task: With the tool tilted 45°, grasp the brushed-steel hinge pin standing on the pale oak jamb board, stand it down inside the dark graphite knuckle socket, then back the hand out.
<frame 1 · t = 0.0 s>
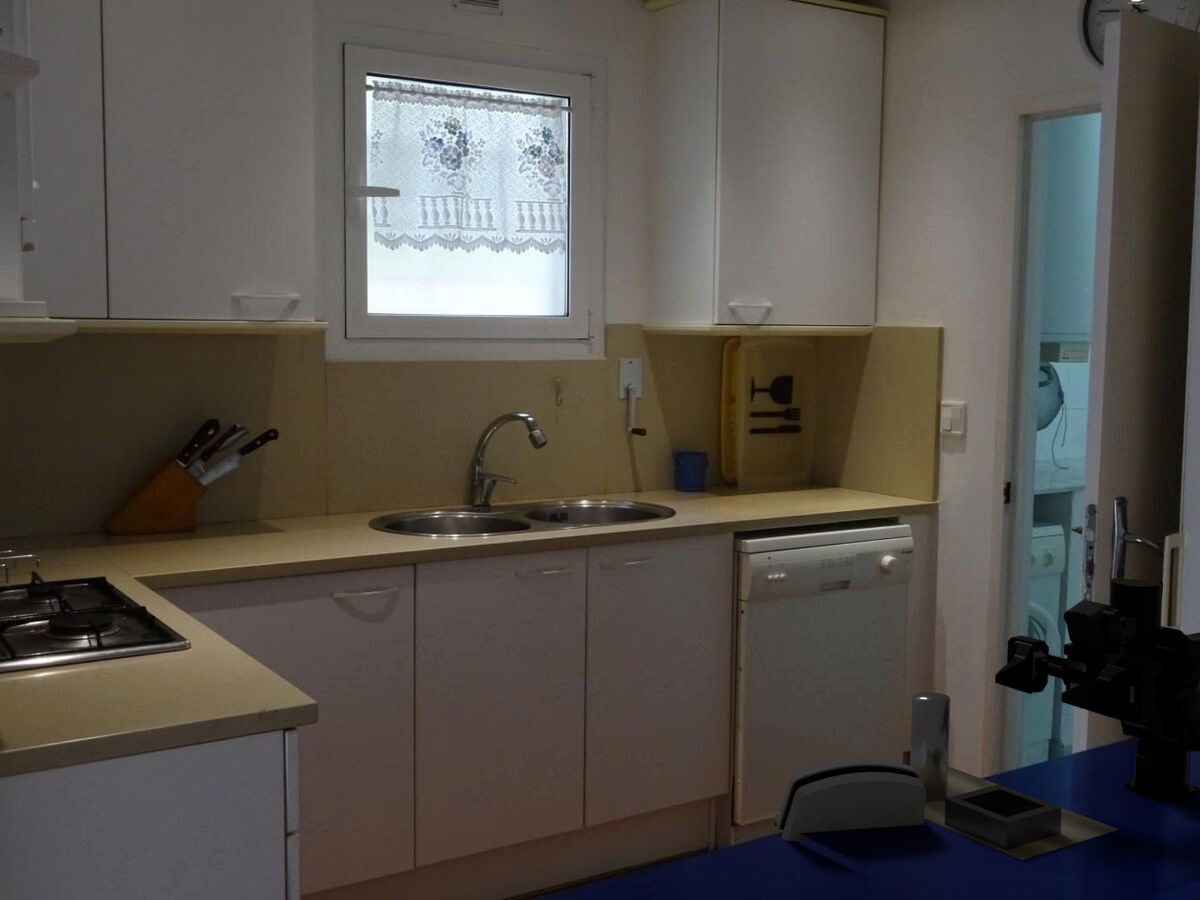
hand: (1028, 687, 150), 17 cm above the table, tool horizontal, fingers open, 9 cm apart
grey arched block: (851, 837, 151), on the table, touching jamb board
knuckle socket: (1002, 828, 150), resting on jamb board
jamb board: (978, 815, 157), on the table
hinge pin: (928, 795, 160), point 1 cm above the table, touching jamb board
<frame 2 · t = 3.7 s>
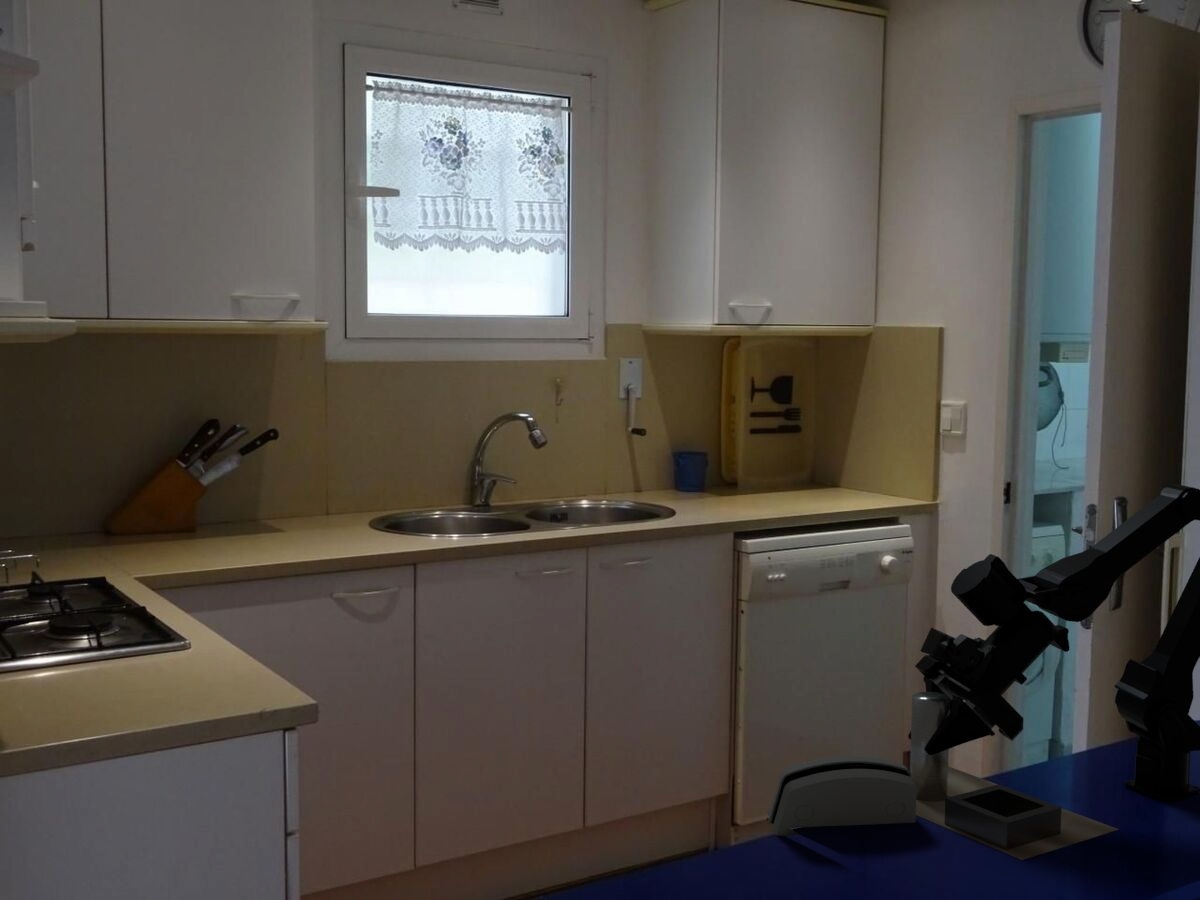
hand: (918, 746, 160), 7 cm above the table, tool tilted 45°, fingers closed on hinge pin, 4 cm apart
grey arched block: (842, 833, 153), on the table, touching jamb board
hinge pin: (928, 795, 160), point 1 cm above the table, touching gripper, jamb board
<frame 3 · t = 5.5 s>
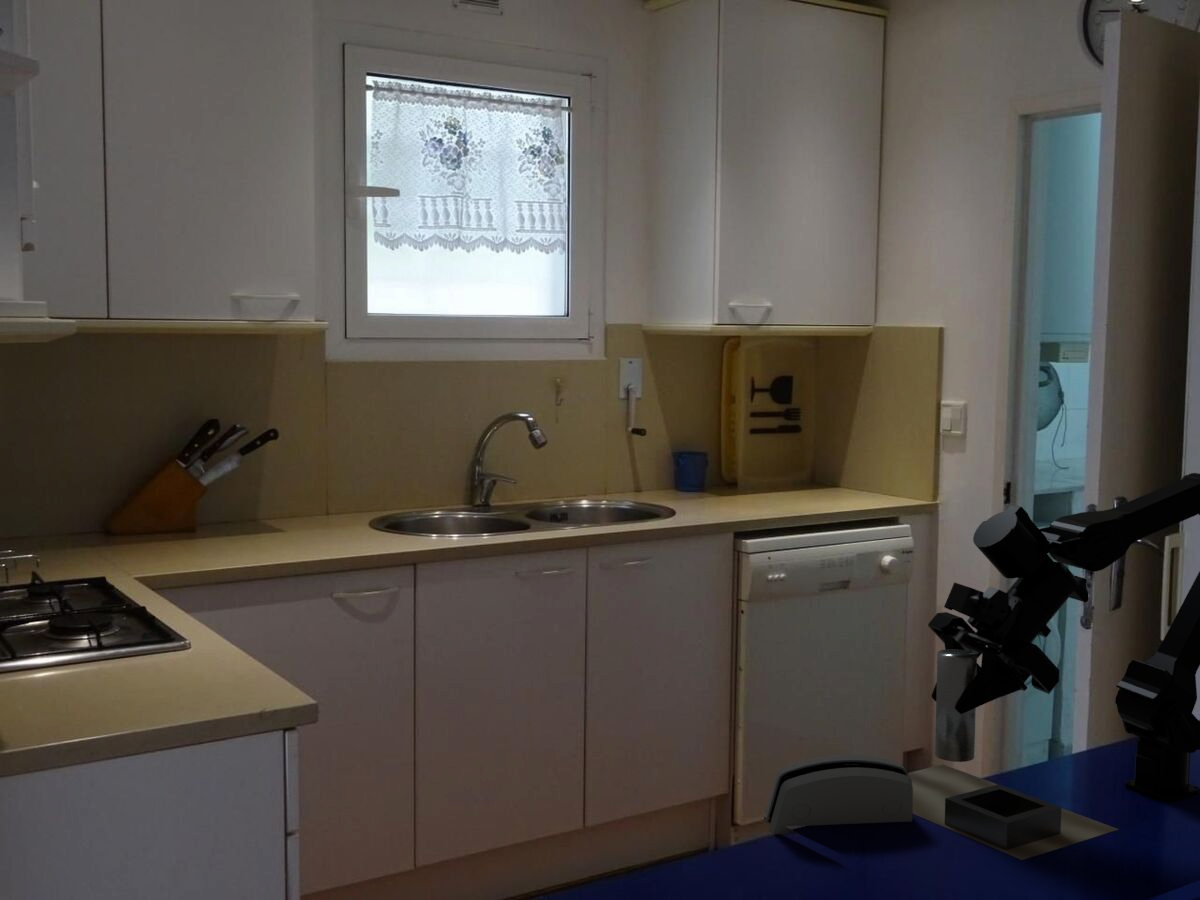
hand: (945, 705, 154), 13 cm above the table, tool tilted 45°, fingers closed on hinge pin, 4 cm apart
hinge pin: (954, 755, 155), point 7 cm above the table, touching gripper
when the fingers open (8 cm above the table, at t = 7.6 s): hinge pin drops 1 cm, resting on jamb board.
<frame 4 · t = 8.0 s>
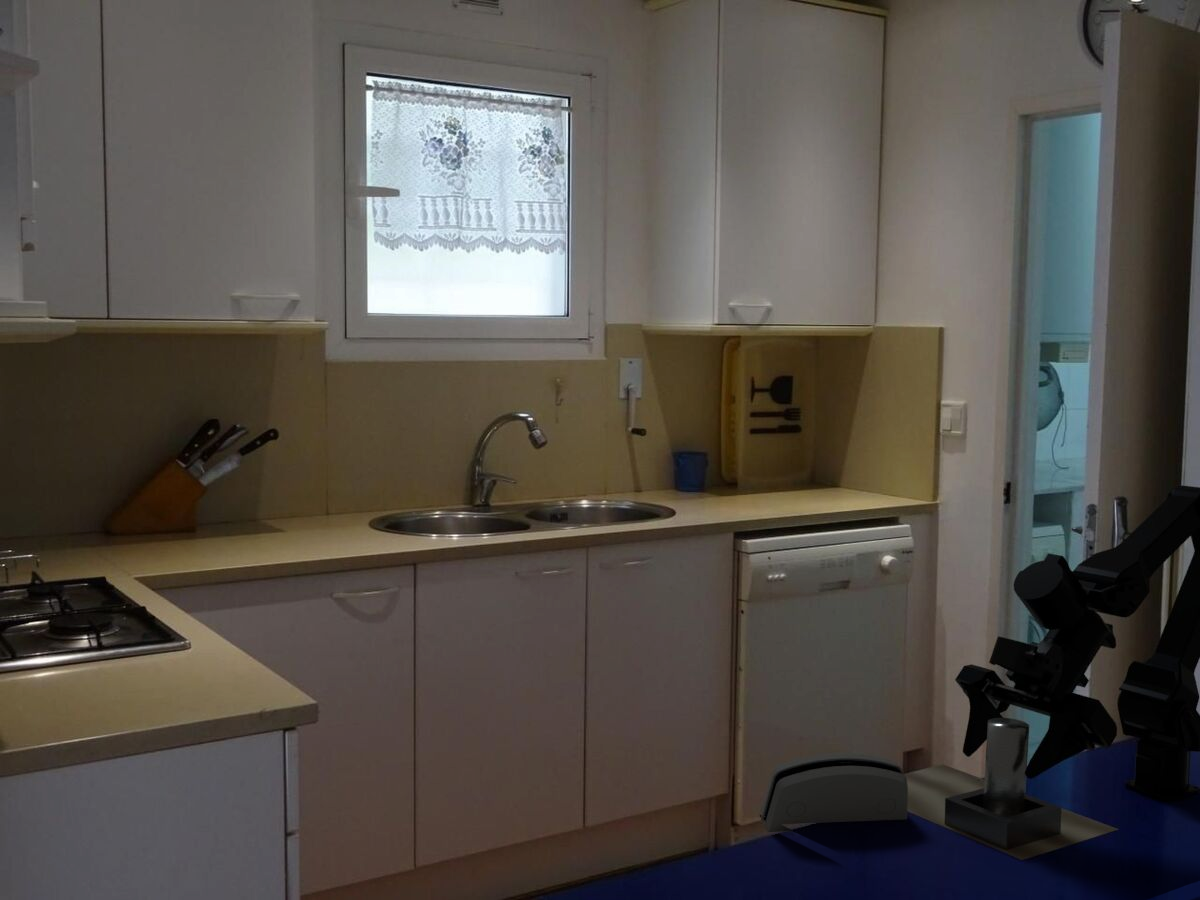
hand: (995, 765, 148), 9 cm above the table, tool tilted 45°, fingers open, 8 cm apart
hinge pin: (1002, 828, 150), point 1 cm above the table, touching jamb board
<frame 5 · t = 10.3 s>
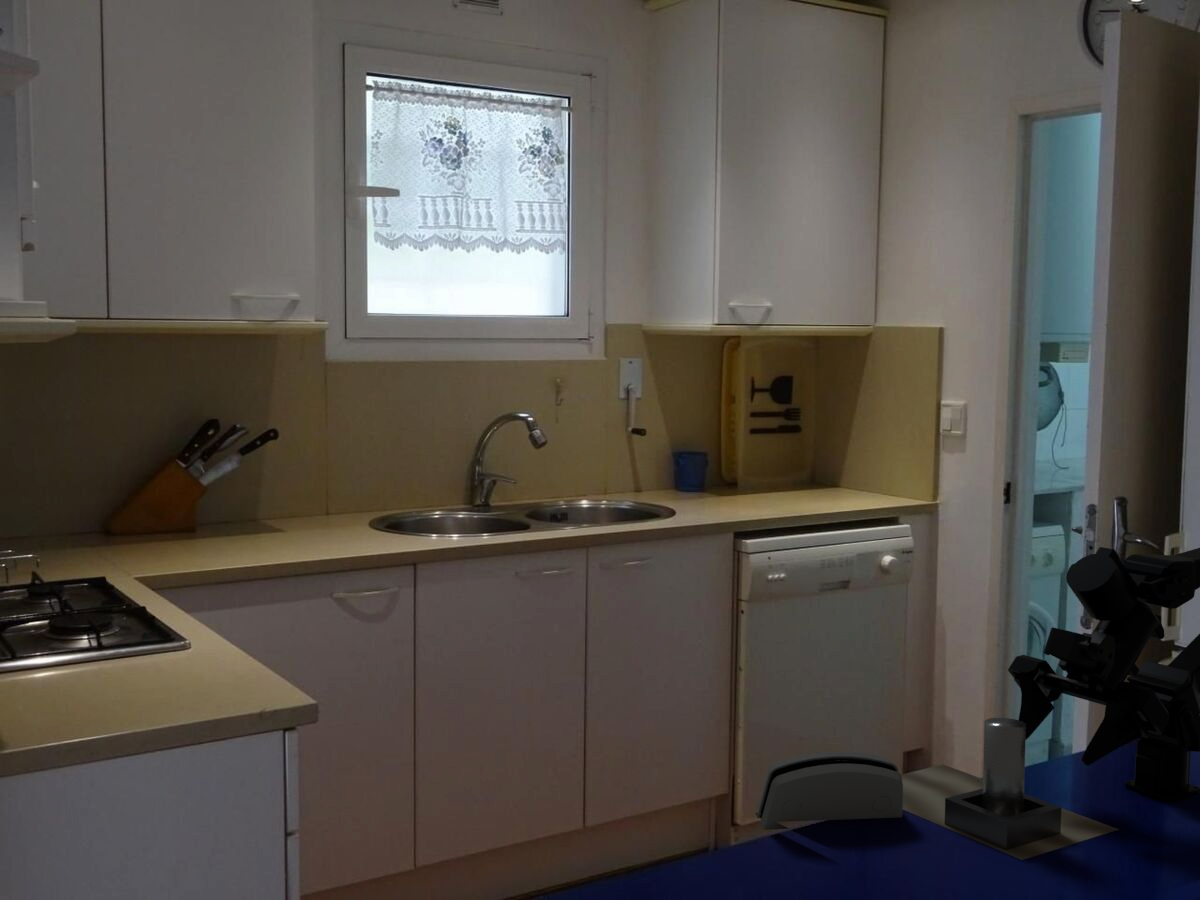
hand: (1050, 752, 153), 8 cm above the table, tool tilted 45°, fingers open, 9 cm apart
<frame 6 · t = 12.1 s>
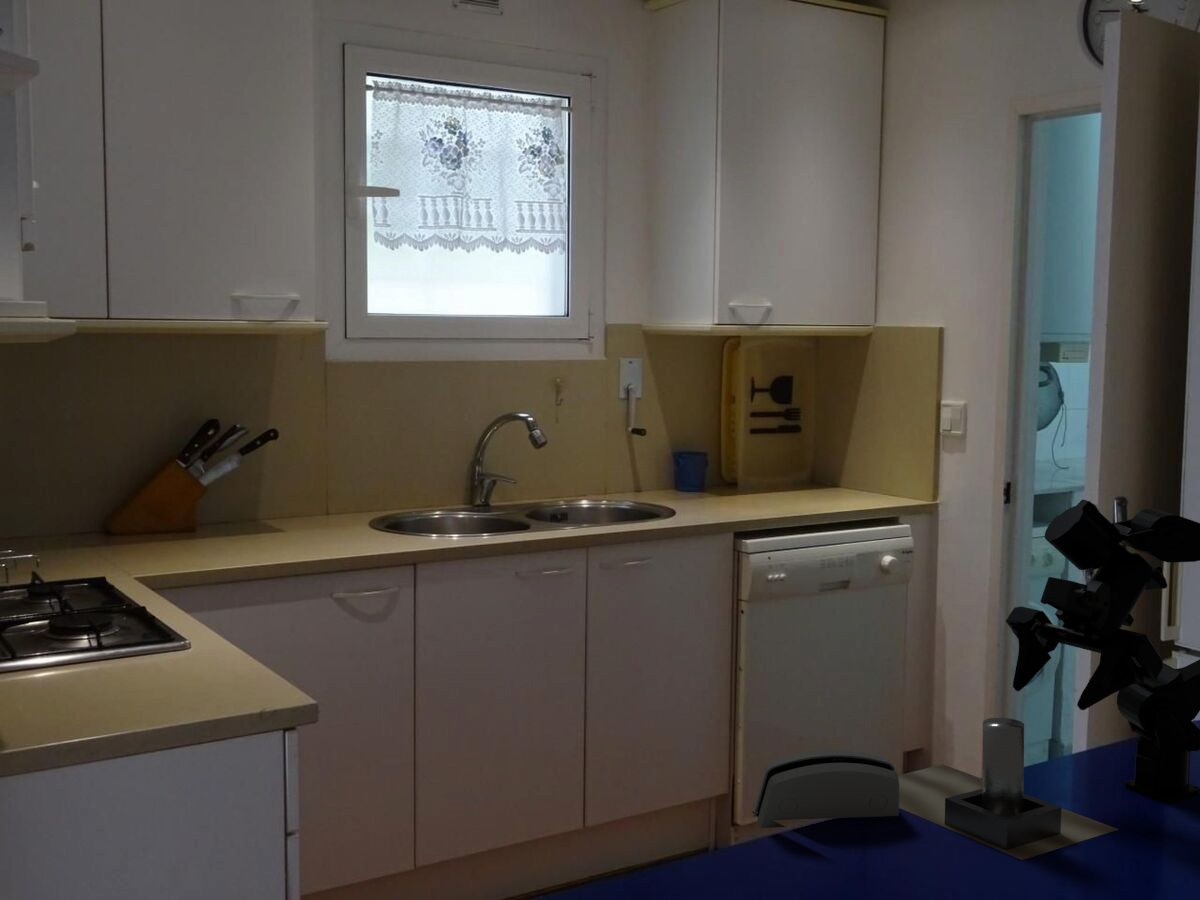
hand: (1046, 698, 157), 14 cm above the table, tool tilted 45°, fingers open, 9 cm apart
at the end: hinge pin 0.1 cm from the target spot, point 1.1 cm above the table; hinge pin tilted 2°; the gripper is holding nothing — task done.
